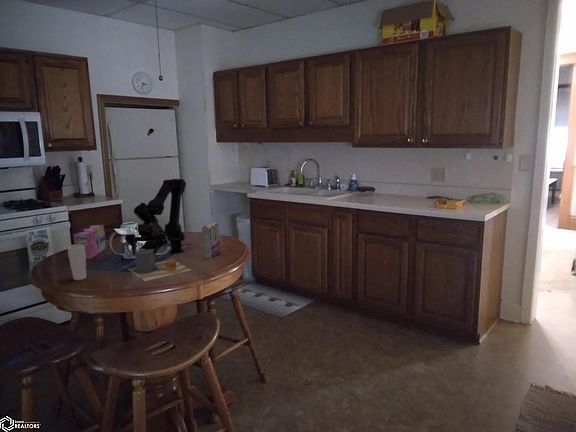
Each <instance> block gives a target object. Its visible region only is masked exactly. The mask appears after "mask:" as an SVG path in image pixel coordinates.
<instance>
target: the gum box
mask: <svg viewBox="0 0 576 432" xmlns="http://www.w3.org/2000/svg"><path fill="white" fill-rule="evenodd" d="M104 226H105V225H104V223H101V225H99V224H97V225H94V224H89V225H87V226H85V227H83V228H82V229H81V230H79V231H76V232H75V233H73V234H72V235H73V243H74V245H76V244H83V245H84V247H85V254H86V260H92V259H93V258H94V257H96V256H97V255H99V253H101V252H102V251H104V250H105V249H106V248H107V246H108V245H107V240H106V231H105V227H104Z"/></svg>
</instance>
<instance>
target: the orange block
mask: <svg viewBox="0 0 576 432" xmlns="http://www.w3.org/2000/svg"><path fill="white" fill-rule="evenodd" d="M165 261H166V262H165V269H166V271H175V269H176V262H177V260H176V259H167V260H165Z"/></svg>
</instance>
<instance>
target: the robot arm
mask: <svg viewBox="0 0 576 432" xmlns="http://www.w3.org/2000/svg"><path fill="white" fill-rule="evenodd" d="M186 186H187V184H186V181H185V180H184V179H183V178H171V179H164V180H163V182H162V185H161V186H160V188H159V190H158V192H157V193H156V195H155V197H154V198H153V199H151V200H150V201H149V202H148V203H147V204H146V203H145V202H141V203H140V204H138V205H136V207H134V209H133V214H134V215H136V217H137V218H139V220H140V221H142V222H143V223H141V224H137V229H136V230H137V232H138V233H139V235H141V237H138V236H136V234H135V233H126V234H125V236H124V240H125V242H126V243H127V245H129V247H130V246H131V251H132V255H133V256H134V257H135V253H137V246H138V241H156V243H155V246H154V248H153V249H154V253H153V254H154V255H155V256H156V255H157V253H158V251H160V249H161V248H162V247H163V246H165V245H166V244H168V243H169V244H170V249H169V250H168V252H170V253H172V254H177V253H183V252H185V249H183V248H182V242H183V241H185V239H186V235H185V233H184V232H183V230H182V226H181V224H180V215H181V214H180V212H181V211H180V210H181V201H182V195H183V194H184V192H185V189H186ZM169 195H171V197H170V198H171V199H170V209H169V221H168V223H166V224H165V225H164V233H157V236H154V233H155V225H156V222H157V223H159V220H158V218H157V217H156V216H159V215H160V216H161V215H162V214H163V212H164V210H165V205H164V204H165V202H166V200H167V198H168V197H169Z"/></svg>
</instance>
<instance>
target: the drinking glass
mask: <svg viewBox="0 0 576 432" xmlns="http://www.w3.org/2000/svg"><path fill="white" fill-rule="evenodd" d="M67 255H68V260H69V264H70V268H71V272H72V279H73V280H74V281H81V280H85V279H86V278H87V261H86V260H87V259H86V254H85V247H84V245H83V244H76V245H75V244H71V245H69V246H67Z"/></svg>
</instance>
